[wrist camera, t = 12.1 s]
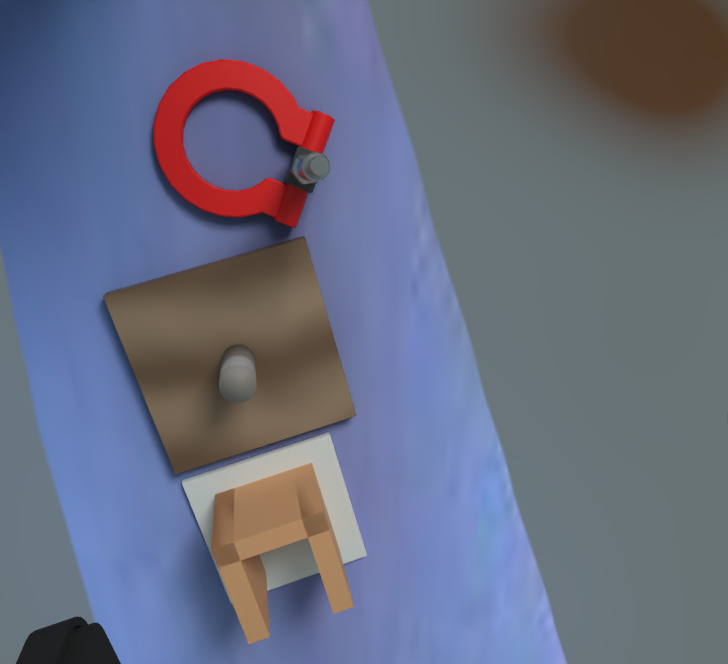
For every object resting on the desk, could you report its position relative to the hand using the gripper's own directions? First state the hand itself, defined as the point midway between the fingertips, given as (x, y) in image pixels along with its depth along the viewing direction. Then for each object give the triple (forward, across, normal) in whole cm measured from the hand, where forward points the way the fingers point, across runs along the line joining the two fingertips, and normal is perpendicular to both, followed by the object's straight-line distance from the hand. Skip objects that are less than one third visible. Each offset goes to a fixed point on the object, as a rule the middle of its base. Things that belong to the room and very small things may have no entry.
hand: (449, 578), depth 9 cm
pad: (+30, +6, +17) cm, 35 cm away
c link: (+29, +6, +17) cm, 34 cm away
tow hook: (+30, +1, -7) cm, 31 cm away
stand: (+30, +5, +5) cm, 31 cm away
